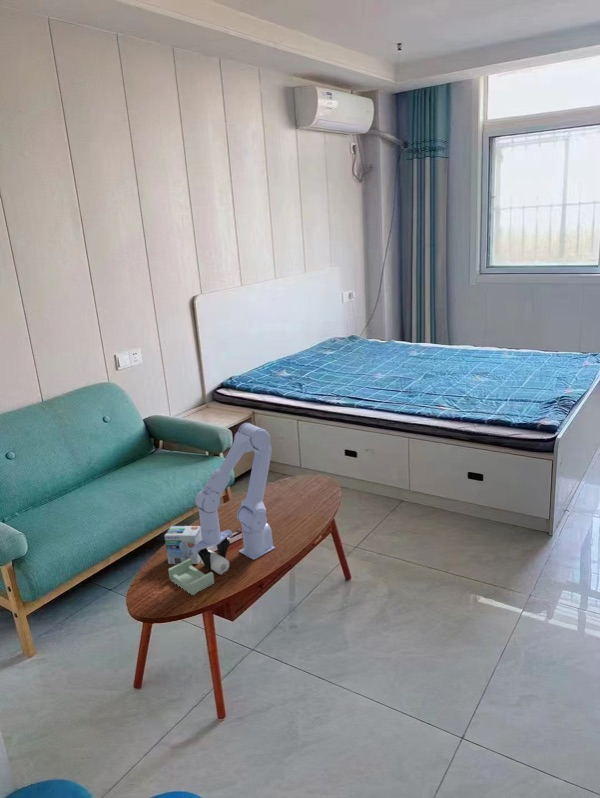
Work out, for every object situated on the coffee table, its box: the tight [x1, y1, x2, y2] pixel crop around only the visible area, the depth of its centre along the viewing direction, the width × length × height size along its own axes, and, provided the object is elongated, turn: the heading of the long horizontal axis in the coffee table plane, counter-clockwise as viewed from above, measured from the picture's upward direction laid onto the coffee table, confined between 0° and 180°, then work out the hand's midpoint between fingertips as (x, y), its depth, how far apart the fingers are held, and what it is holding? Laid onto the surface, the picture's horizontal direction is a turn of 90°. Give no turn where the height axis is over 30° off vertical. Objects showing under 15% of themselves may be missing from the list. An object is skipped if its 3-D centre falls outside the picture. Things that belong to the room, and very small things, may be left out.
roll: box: [200, 549, 230, 575], centre depth 189 cm, size 9×5×5 cm, turn 44°
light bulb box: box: [164, 525, 203, 565], centre depth 195 cm, size 11×7×11 cm, turn 82°
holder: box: [167, 558, 215, 596], centre depth 182 cm, size 13×8×4 cm, turn 44°
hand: (215, 564), depth 189 cm, fingers closed on roll, 5 cm apart
